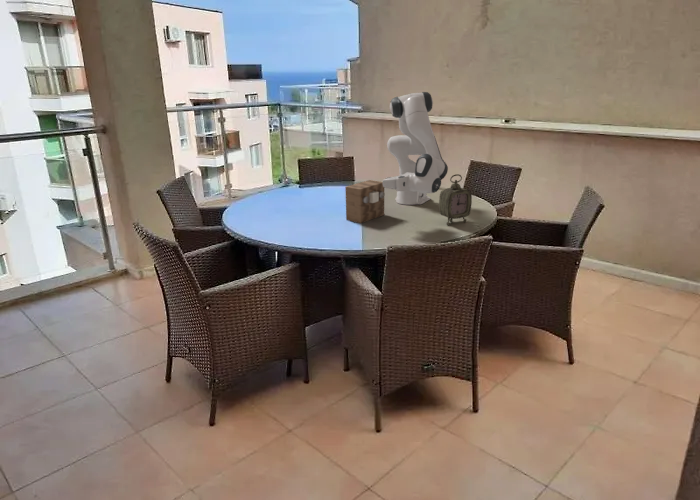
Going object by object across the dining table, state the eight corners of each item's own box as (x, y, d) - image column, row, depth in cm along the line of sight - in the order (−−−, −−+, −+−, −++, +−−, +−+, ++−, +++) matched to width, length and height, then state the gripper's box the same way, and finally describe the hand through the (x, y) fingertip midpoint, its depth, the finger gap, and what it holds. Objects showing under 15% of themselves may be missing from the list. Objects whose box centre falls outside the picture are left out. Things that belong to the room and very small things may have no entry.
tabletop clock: (446, 226, 242) (449, 177, 233) (436, 222, 249) (438, 174, 241) (470, 222, 247) (473, 174, 239) (459, 218, 255) (462, 171, 246)
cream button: (372, 199, 258) (371, 190, 256) (378, 201, 255) (378, 191, 253) (366, 201, 254) (365, 192, 252) (372, 203, 251) (372, 193, 250)
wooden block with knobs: (370, 211, 271) (369, 179, 265) (386, 215, 264) (386, 182, 257) (346, 219, 257) (345, 186, 251) (362, 223, 250) (362, 189, 243)
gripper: (421, 171, 241) (399, 169, 250) (396, 178, 227) (374, 176, 236) (421, 184, 243) (399, 181, 252) (396, 192, 229) (374, 188, 238)
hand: (387, 179), depth 244 cm, fingers closed
